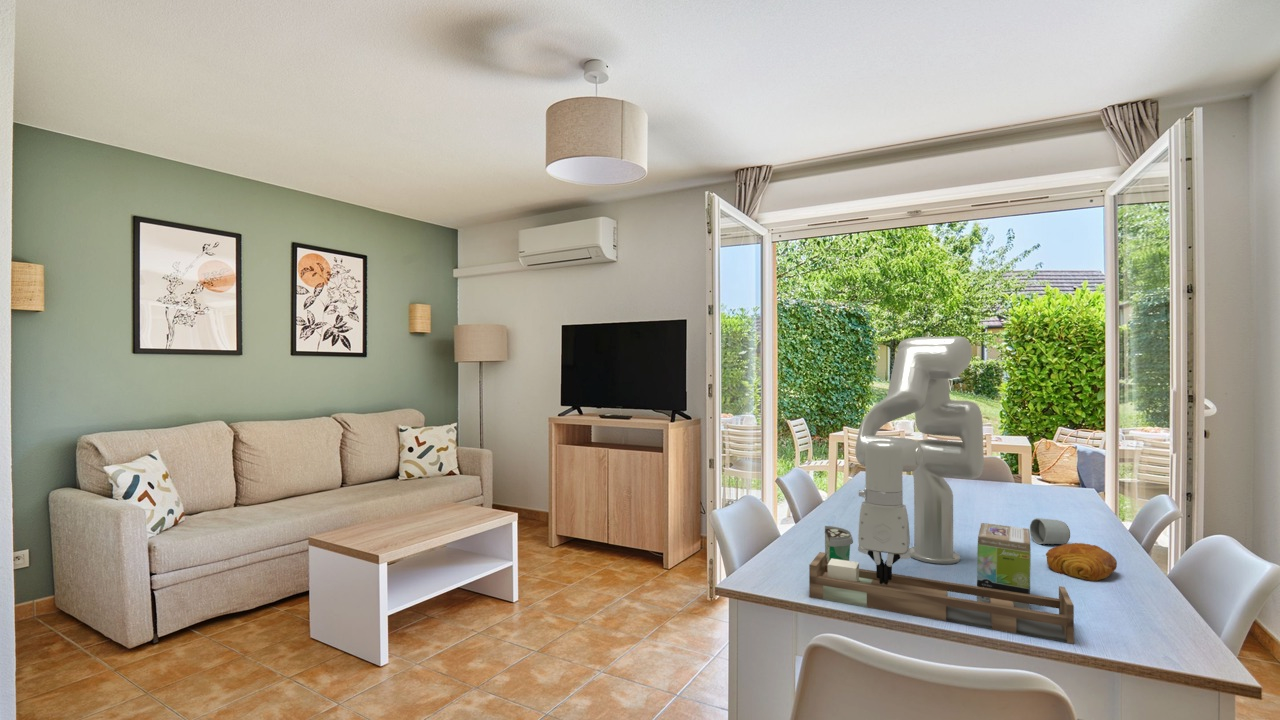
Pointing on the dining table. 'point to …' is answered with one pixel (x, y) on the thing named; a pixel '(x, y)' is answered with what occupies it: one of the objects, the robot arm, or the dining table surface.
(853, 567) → the block
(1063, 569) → the swirled bread bun
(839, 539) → the food container
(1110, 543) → the dining table surface
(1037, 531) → the ceramic mug
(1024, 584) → the tea box
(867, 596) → the wooden rack
